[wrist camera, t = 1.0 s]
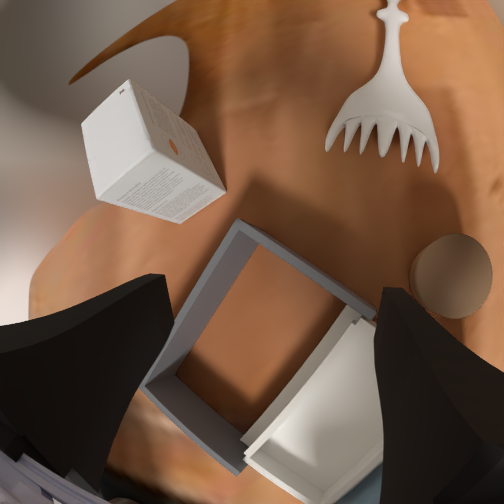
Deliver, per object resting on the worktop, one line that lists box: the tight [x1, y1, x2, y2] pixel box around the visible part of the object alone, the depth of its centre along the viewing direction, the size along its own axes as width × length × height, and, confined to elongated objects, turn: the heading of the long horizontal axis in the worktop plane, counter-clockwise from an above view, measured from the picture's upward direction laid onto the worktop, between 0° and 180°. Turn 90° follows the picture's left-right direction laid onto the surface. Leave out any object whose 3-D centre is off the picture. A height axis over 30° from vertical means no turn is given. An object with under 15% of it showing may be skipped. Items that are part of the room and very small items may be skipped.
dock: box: [139, 218, 377, 476], centre depth 23 cm, size 11×16×4 cm
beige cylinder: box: [409, 233, 492, 319], centre depth 18 cm, size 5×5×5 cm
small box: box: [81, 79, 226, 224], centre depth 24 cm, size 8×6×10 cm
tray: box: [240, 305, 383, 504], centre depth 19 cm, size 11×16×5 cm
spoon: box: [325, 0, 439, 173], centre depth 21 cm, size 9×32×4 cm, turn 165°
